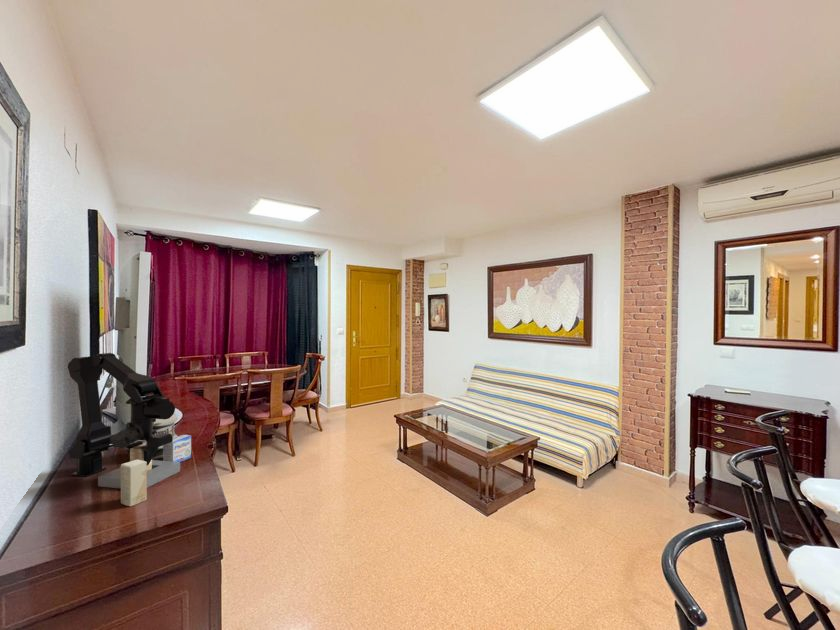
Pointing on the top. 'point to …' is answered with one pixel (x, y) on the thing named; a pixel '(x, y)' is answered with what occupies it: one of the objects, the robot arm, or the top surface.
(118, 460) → the top surface
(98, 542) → the top surface
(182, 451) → the medicine box
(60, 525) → the top surface
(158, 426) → the apothecary jar
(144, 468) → the box
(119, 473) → the pocket plate
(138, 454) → the maple block
